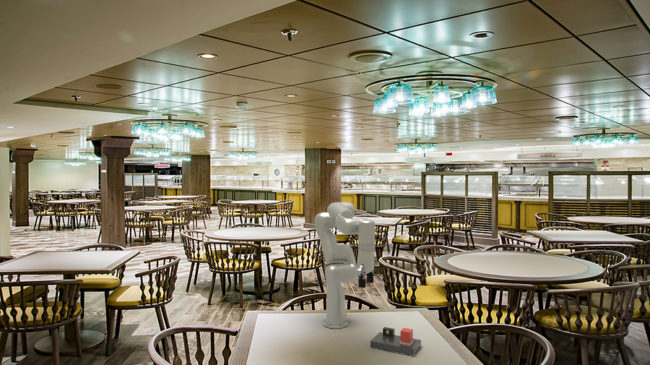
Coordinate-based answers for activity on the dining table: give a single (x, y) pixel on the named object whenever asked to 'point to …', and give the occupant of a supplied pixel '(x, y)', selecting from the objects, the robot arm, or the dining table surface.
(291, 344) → the dining table surface
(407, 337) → the red block
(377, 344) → the panel
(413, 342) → the button
